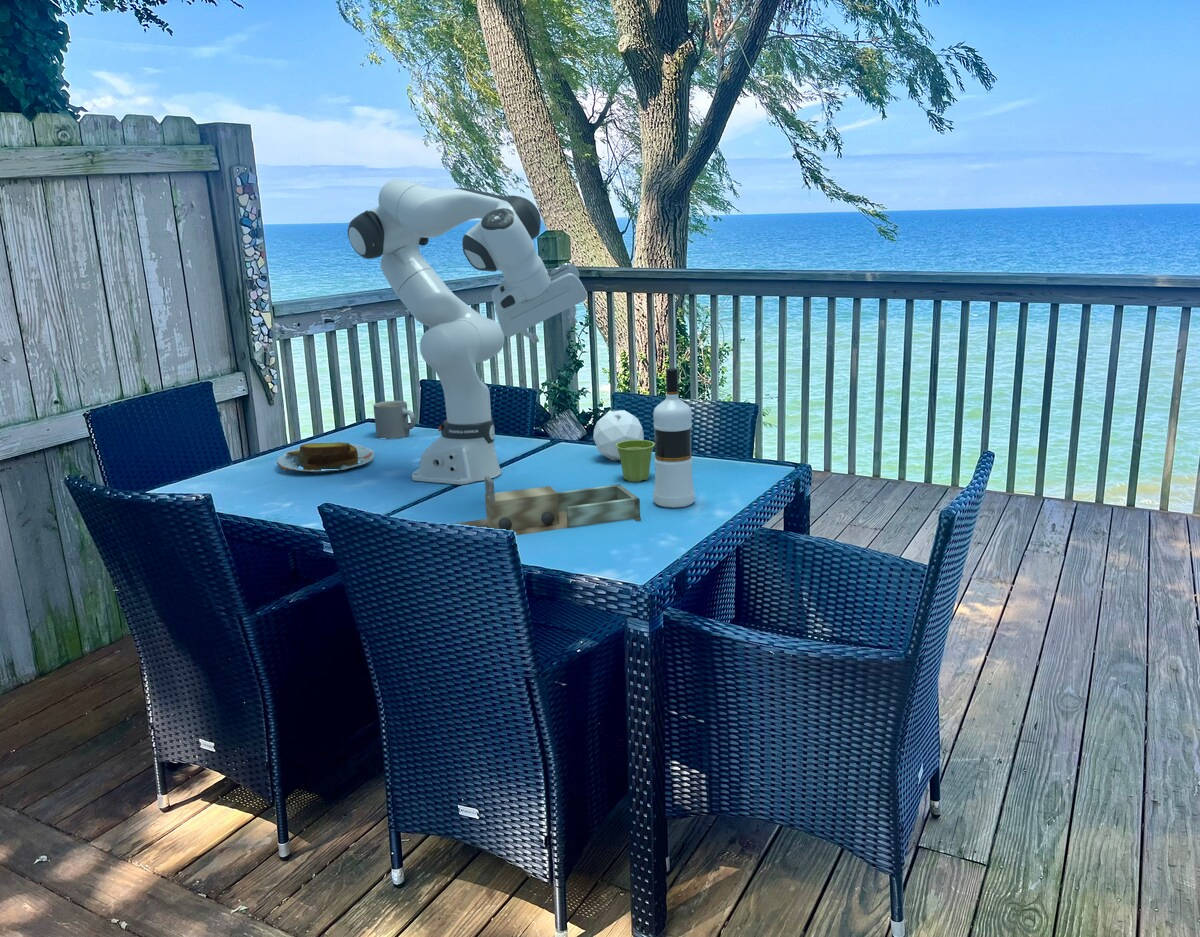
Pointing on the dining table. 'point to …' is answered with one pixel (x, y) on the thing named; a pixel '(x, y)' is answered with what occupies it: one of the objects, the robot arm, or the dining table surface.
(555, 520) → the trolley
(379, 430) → the coffee mug
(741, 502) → the dining table surface
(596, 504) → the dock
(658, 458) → the vodka
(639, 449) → the plant pot
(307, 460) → the food on plate
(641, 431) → the geodesic sphere
